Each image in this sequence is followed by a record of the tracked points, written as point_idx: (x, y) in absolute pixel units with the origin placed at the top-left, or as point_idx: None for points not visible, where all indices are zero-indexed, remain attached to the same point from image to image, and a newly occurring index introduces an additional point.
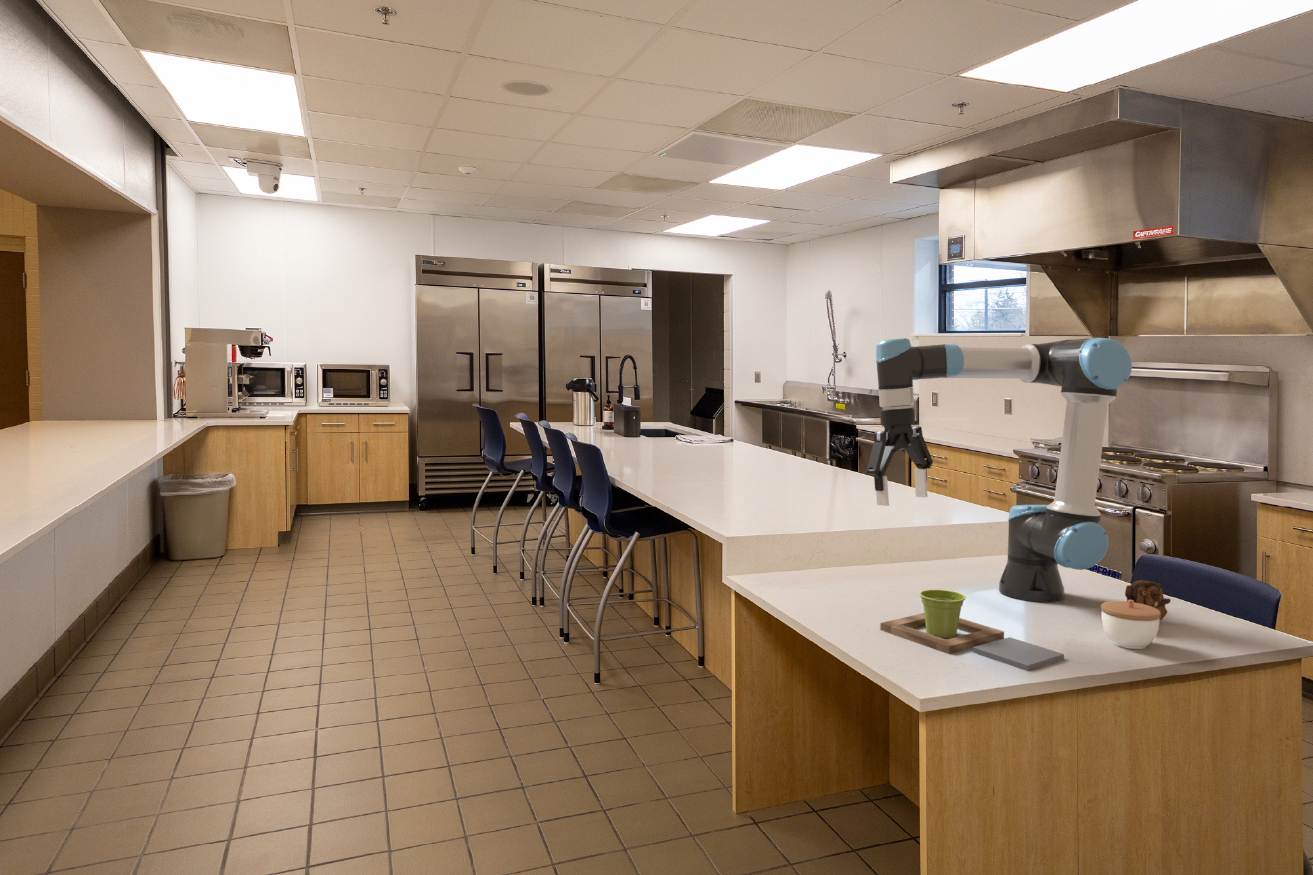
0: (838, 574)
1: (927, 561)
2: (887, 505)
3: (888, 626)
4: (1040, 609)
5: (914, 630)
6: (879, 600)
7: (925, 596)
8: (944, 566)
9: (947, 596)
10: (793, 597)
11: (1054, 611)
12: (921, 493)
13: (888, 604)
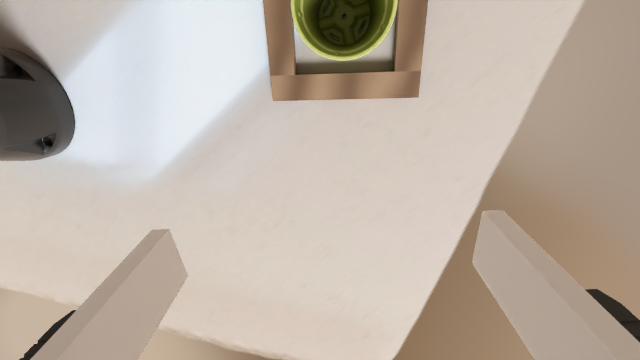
0: (247, 319)
1: (79, 302)
2: (497, 210)
3: (419, 77)
4: (65, 29)
5: (405, 28)
6: (289, 208)
7: (348, 54)
8: (70, 275)
9: (303, 27)
10: (391, 279)
11: (47, 4)
12: (166, 262)
13: (292, 187)
